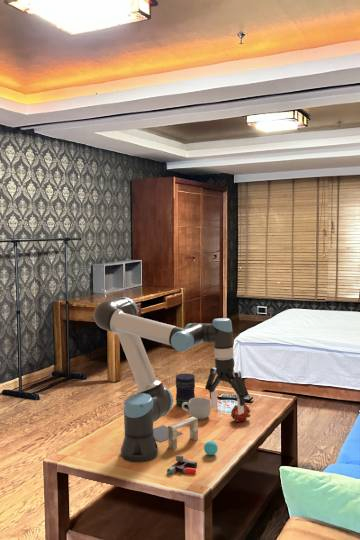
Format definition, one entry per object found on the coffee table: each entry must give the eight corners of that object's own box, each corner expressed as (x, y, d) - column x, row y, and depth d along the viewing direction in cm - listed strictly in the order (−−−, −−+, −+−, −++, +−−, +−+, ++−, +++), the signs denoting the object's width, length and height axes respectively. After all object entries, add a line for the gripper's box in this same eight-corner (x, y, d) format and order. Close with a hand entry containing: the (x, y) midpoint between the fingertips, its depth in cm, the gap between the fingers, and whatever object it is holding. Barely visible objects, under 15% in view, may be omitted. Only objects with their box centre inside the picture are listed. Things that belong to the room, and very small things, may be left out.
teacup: (211, 413, 262) (211, 397, 262) (210, 421, 252) (210, 405, 251) (183, 412, 264) (183, 396, 263) (181, 421, 253) (180, 404, 252)
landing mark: (160, 442, 229) (160, 441, 229) (141, 433, 239) (141, 433, 239) (182, 433, 238) (182, 433, 238) (163, 425, 248) (163, 425, 248)
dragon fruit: (248, 419, 257) (236, 431, 248) (235, 407, 261) (222, 418, 251) (257, 408, 253) (244, 420, 244) (243, 396, 256) (230, 407, 247)
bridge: (198, 438, 232) (197, 418, 231) (173, 449, 222) (173, 427, 222) (193, 436, 234) (192, 416, 234) (168, 447, 225) (168, 425, 224)
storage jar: (177, 401, 280) (177, 373, 279) (196, 401, 279) (195, 373, 278) (174, 407, 271) (174, 379, 269) (194, 408, 269) (193, 379, 268)
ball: (211, 458, 213) (211, 445, 212) (201, 454, 217) (201, 441, 216) (220, 454, 217) (220, 441, 216) (210, 450, 221) (210, 437, 220)
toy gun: (164, 474, 201) (163, 462, 201) (183, 463, 211) (183, 451, 210) (184, 482, 195) (184, 469, 195) (203, 469, 205) (203, 457, 204)
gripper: (255, 359, 206) (258, 413, 207) (206, 352, 223) (210, 402, 225) (243, 363, 200) (246, 419, 202) (194, 356, 218) (198, 407, 219)
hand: (227, 410), depth 213 cm, fingers open, 13 cm apart
